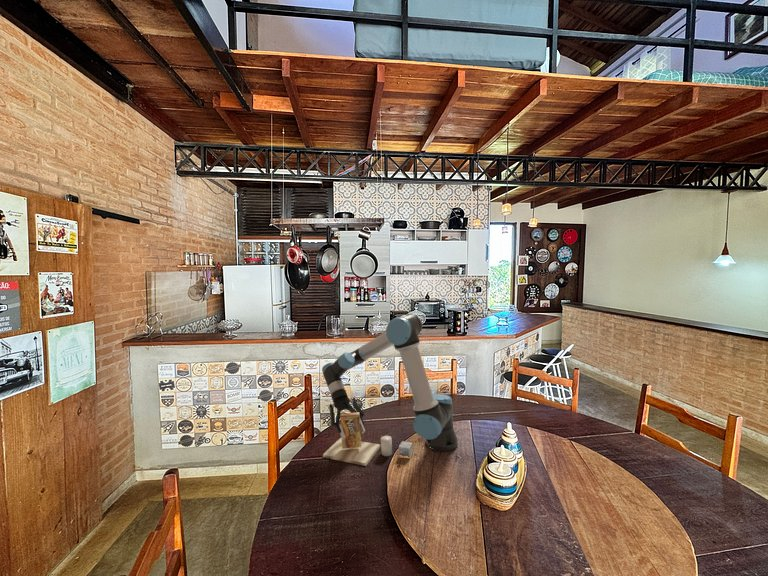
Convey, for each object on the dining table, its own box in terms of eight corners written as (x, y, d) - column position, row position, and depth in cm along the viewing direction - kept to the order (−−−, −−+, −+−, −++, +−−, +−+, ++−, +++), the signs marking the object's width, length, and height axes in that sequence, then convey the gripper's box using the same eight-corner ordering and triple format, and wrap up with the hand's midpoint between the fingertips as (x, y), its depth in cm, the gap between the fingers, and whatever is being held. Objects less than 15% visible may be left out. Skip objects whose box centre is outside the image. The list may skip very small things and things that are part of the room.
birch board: (380, 447, 155) (380, 444, 155) (365, 465, 140) (365, 463, 140) (340, 440, 164) (340, 437, 164) (322, 457, 149) (322, 454, 149)
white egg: (393, 451, 151) (393, 436, 151) (389, 457, 146) (389, 441, 146) (384, 449, 153) (383, 435, 153) (379, 455, 148) (379, 440, 148)
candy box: (361, 443, 154) (359, 411, 154) (361, 447, 150) (359, 415, 150) (342, 444, 154) (340, 413, 153) (342, 449, 150) (340, 417, 149)
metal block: (413, 453, 148) (412, 442, 148) (409, 459, 144) (409, 448, 144) (402, 451, 150) (402, 441, 150) (399, 457, 146) (398, 446, 145)
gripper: (355, 390, 170) (372, 431, 157) (315, 401, 158) (329, 446, 146) (359, 383, 165) (377, 425, 153) (318, 393, 154) (333, 439, 141)
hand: (354, 435), depth 149 cm, fingers closed on candy box, 9 cm apart
